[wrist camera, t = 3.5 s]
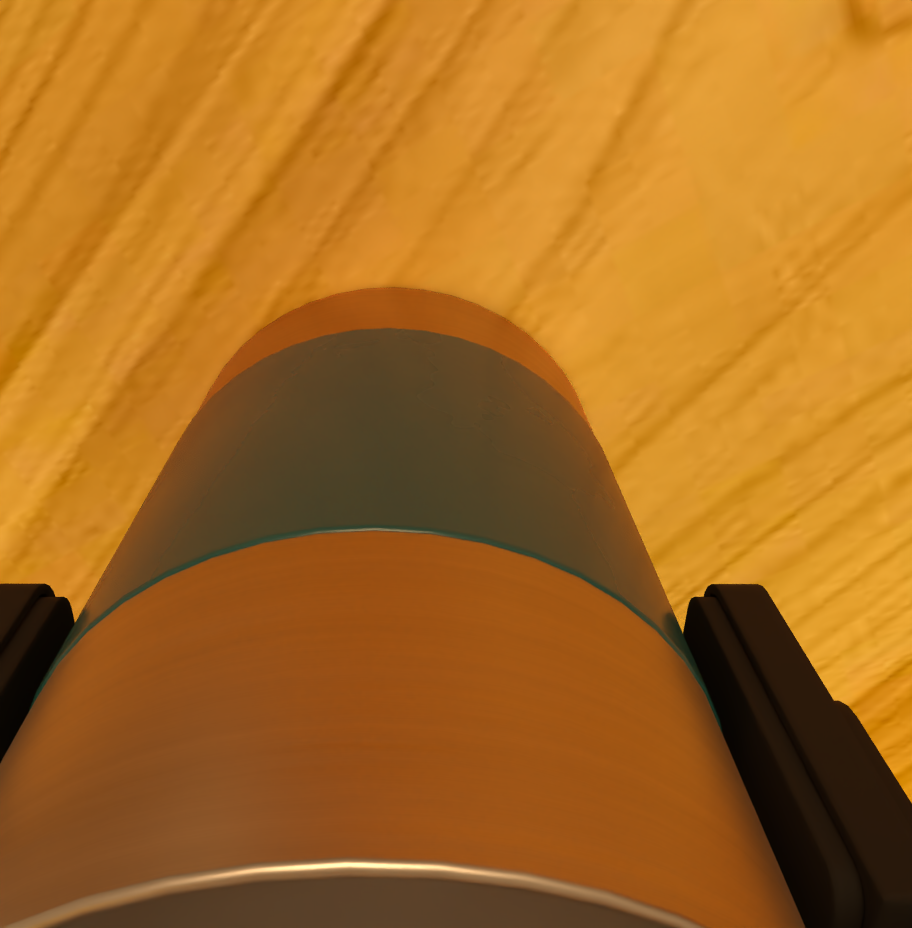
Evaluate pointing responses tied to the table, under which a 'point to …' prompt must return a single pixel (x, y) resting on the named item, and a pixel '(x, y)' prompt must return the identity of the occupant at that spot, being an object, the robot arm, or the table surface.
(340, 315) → the can
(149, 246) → the table surface
